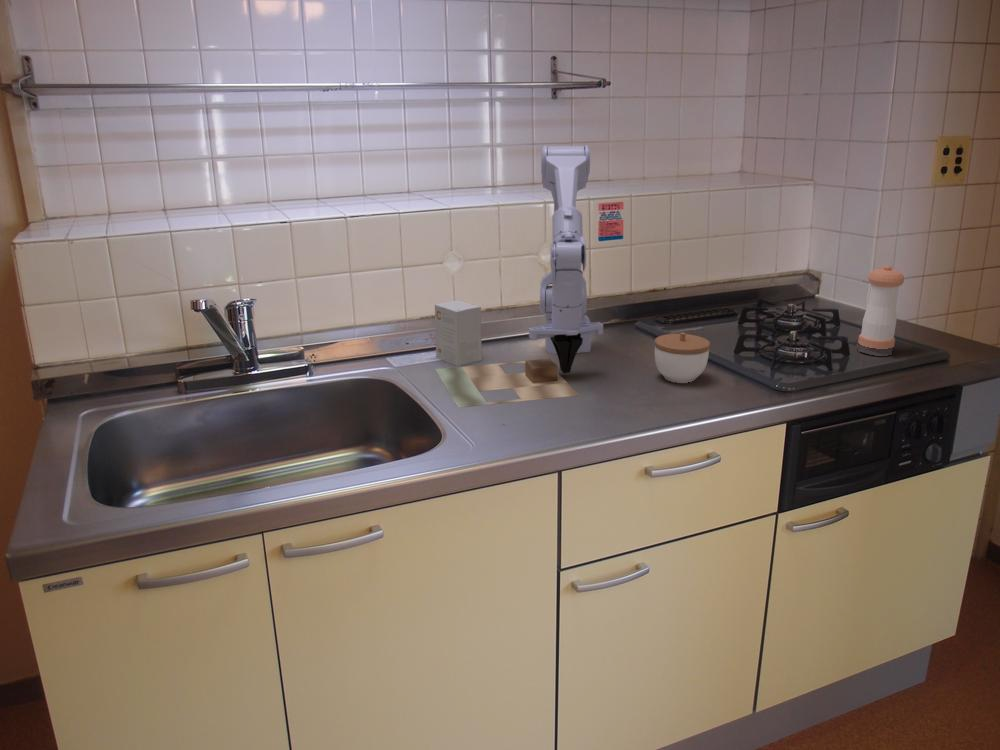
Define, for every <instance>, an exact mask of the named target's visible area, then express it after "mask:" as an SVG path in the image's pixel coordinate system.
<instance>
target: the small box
mask: <svg viewBox="0 0 1000 750" xmlns="http://www.w3.org/2000/svg"><path fill="white" fill-rule="evenodd" d="M434 319H435V320H434V324H435V326H434V329H435V357H436V358H437V359H439V360H442V361H444V362H446V363H449V364H451V365H454V366H455V367H463V366H466V365H469V364H473V363H477V362H481V361H483V356H482V355H483V354H482V353H483V351H482V306H479V305H475V304H472V303H469V302H465V301H462V300H459V299H456V300H452V301H445V302H440V303H435V304H434Z"/></svg>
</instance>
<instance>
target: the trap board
mask: <svg viewBox="0 0 1000 750" xmlns="http://www.w3.org/2000/svg"><path fill="white" fill-rule="evenodd" d="M525 361H526V360H524V361H523V360H522V361H512V362H500V363H498V362H497V363H488V364H487V363H486V364H479V365H467V366H466V365H463V366H454V367H453V366H452V367H444V368H434V370H435V372H436V374H437V375H438V377H439V379H440V380H441V382H442V384H443V385H444V388H446V391H447V392H448V393H449V395H450V397H451V398H452V400H453V402H454V403H455V405H456V407H457V408H458V409H460V408H471V407H480V406H490V405H497V404H508V403H519V402H531V401H535V400H536V401H538V400H548V399H549V400H550V399H555V398H556V399H557V398H567V397H578V396H579V397H580V396H581V395H580V394H579V393H578V391H577V390H576V389H575V388H573V387H572V386H571V385H570V383H568V382H567V380H565V379H564V377H562V376H561V375H560V374H559V373H558V381H552V382H542V383H532V382H531V381H530V380H529V379H528V378H527V376H526V375H525V372H517V373H506V372H505V371H504V370H503V368H501V366H505V365H513V364H514V365H516V364H517V365H518V364H525ZM510 389H512V390H513V391H514V392H515V393H516V394H517V396H518V397H519V398H518V399H517V398H516V399H509V400H507V399H506V400H501V401H489V402H487V401H486V400H485V398H484V396H483V395H482V394H481V392H489V391H490V392H491V391H499V390H510Z"/></svg>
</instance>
